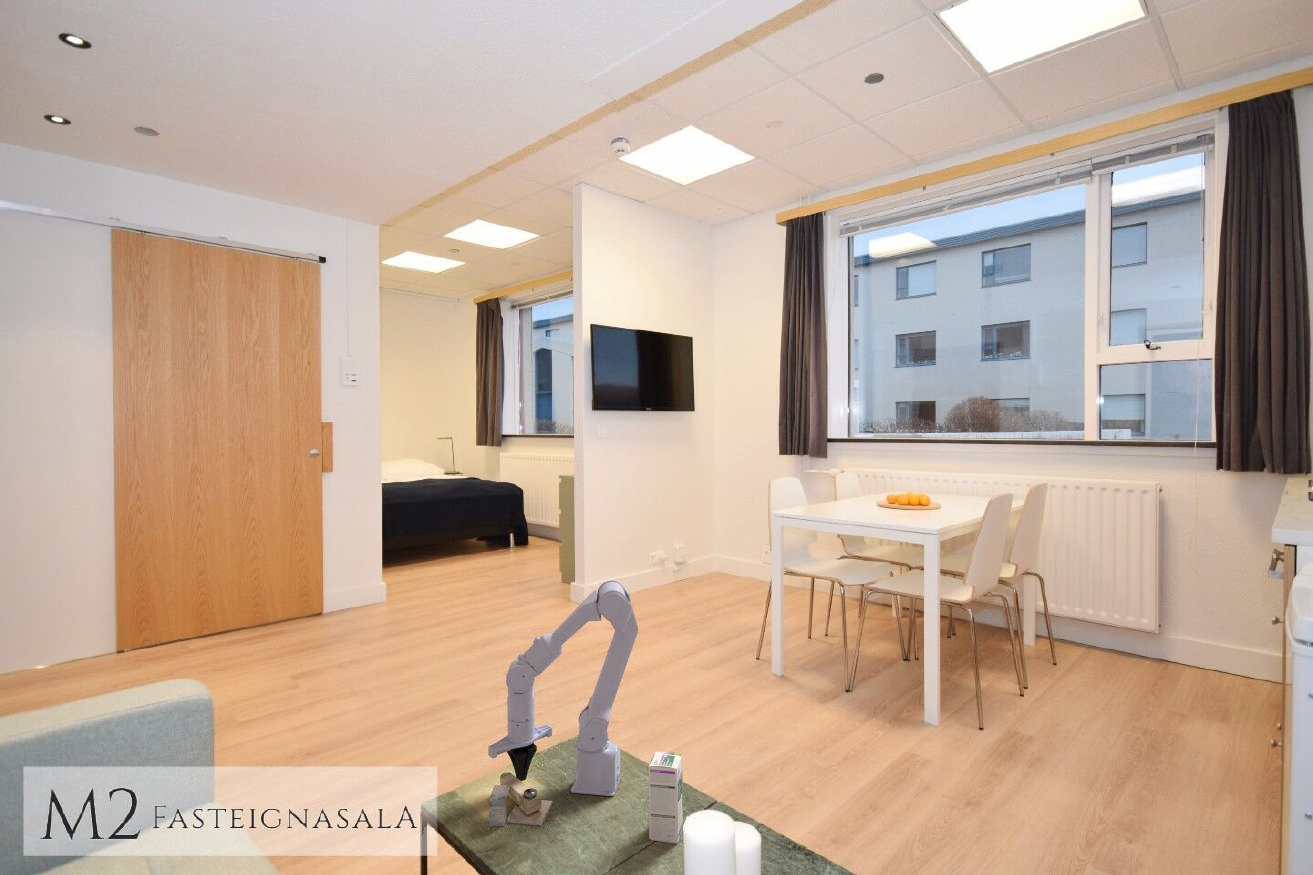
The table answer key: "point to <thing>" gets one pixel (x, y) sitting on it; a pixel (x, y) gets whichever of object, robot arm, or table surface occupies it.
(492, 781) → the table surface
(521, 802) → the link
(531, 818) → the pintle base
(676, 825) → the syrup box
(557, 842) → the table surface
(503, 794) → the block
